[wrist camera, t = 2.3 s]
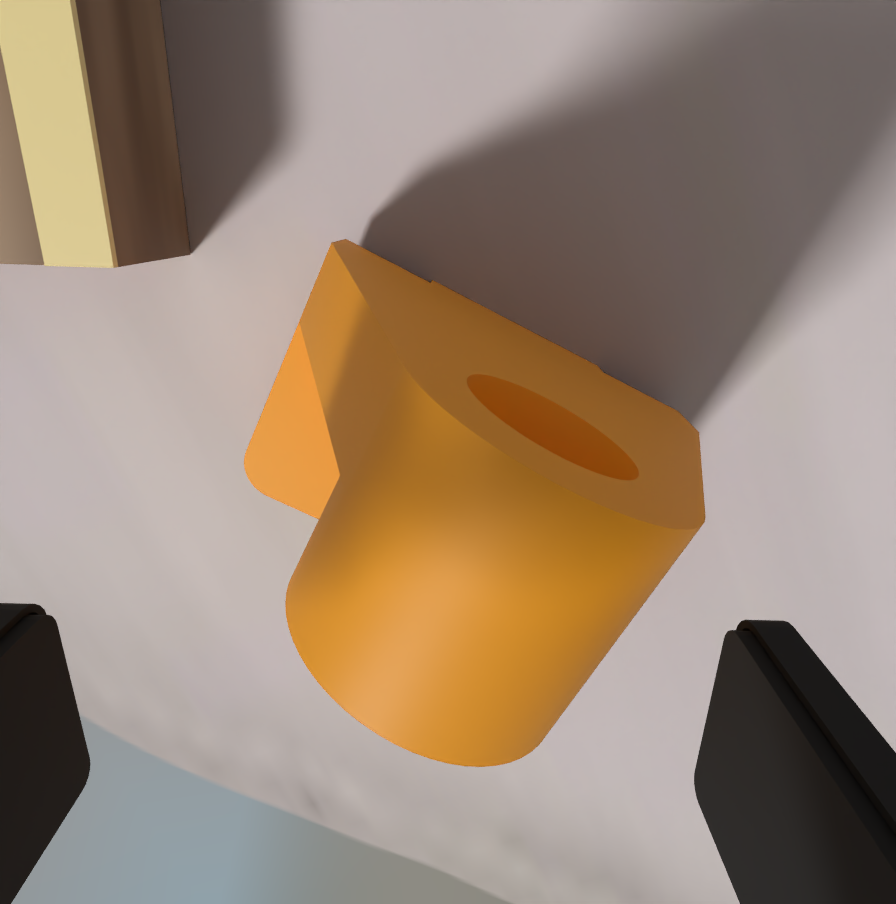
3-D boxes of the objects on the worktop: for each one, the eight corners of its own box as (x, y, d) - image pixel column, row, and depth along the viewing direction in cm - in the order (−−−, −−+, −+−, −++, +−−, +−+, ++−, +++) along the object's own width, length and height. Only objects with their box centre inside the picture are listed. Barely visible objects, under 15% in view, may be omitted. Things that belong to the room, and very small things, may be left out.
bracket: (263, 447, 21) (11, 734, 9) (351, 237, 18) (152, 287, 7) (551, 581, 22) (632, 969, 11) (670, 403, 19) (933, 668, 8)
